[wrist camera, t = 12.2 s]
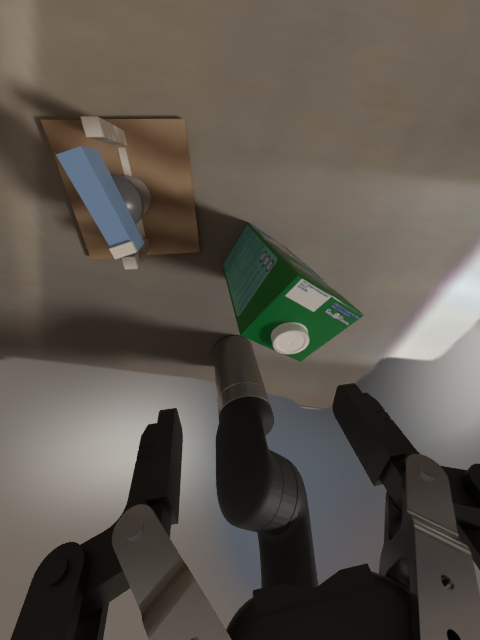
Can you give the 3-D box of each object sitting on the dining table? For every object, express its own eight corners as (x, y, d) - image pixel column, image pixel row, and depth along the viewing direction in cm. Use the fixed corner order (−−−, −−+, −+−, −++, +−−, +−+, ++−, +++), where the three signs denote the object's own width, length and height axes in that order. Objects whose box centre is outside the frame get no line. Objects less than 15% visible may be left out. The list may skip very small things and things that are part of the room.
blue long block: (118, 145, 26) (98, 139, 21) (159, 235, 32) (151, 248, 26) (67, 163, 27) (34, 161, 21) (117, 249, 32) (100, 265, 27)
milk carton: (221, 265, 45) (242, 349, 24) (248, 222, 42) (299, 274, 21) (260, 287, 49) (307, 375, 28) (287, 248, 45) (365, 315, 24)
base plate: (199, 250, 43) (200, 272, 33) (93, 257, 41) (62, 282, 31) (185, 120, 33) (180, 100, 24) (45, 121, 31) (-21, 99, 22)
